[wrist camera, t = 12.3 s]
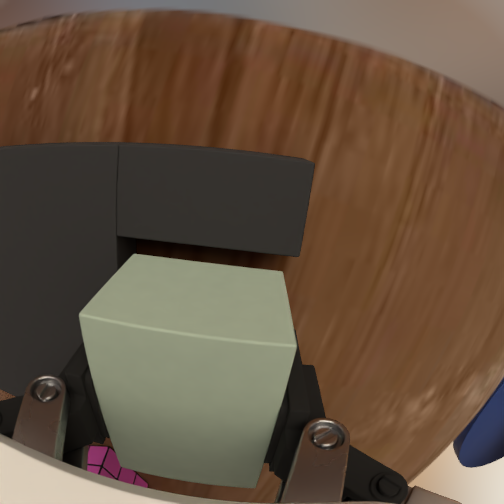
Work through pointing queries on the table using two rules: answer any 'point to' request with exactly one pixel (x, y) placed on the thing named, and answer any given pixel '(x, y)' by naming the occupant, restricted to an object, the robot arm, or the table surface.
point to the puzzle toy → (111, 466)
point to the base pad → (122, 228)
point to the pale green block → (190, 366)
